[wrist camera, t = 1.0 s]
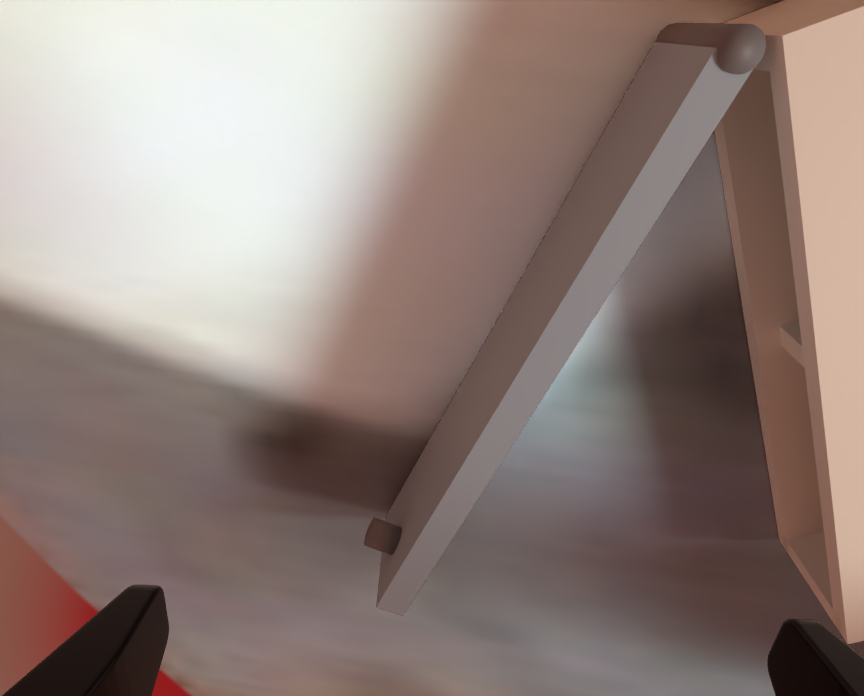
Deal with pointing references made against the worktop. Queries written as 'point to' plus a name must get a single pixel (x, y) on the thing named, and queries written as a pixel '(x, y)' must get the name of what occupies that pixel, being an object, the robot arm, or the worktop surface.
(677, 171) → the door
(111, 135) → the worktop surface
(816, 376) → the cabinet
